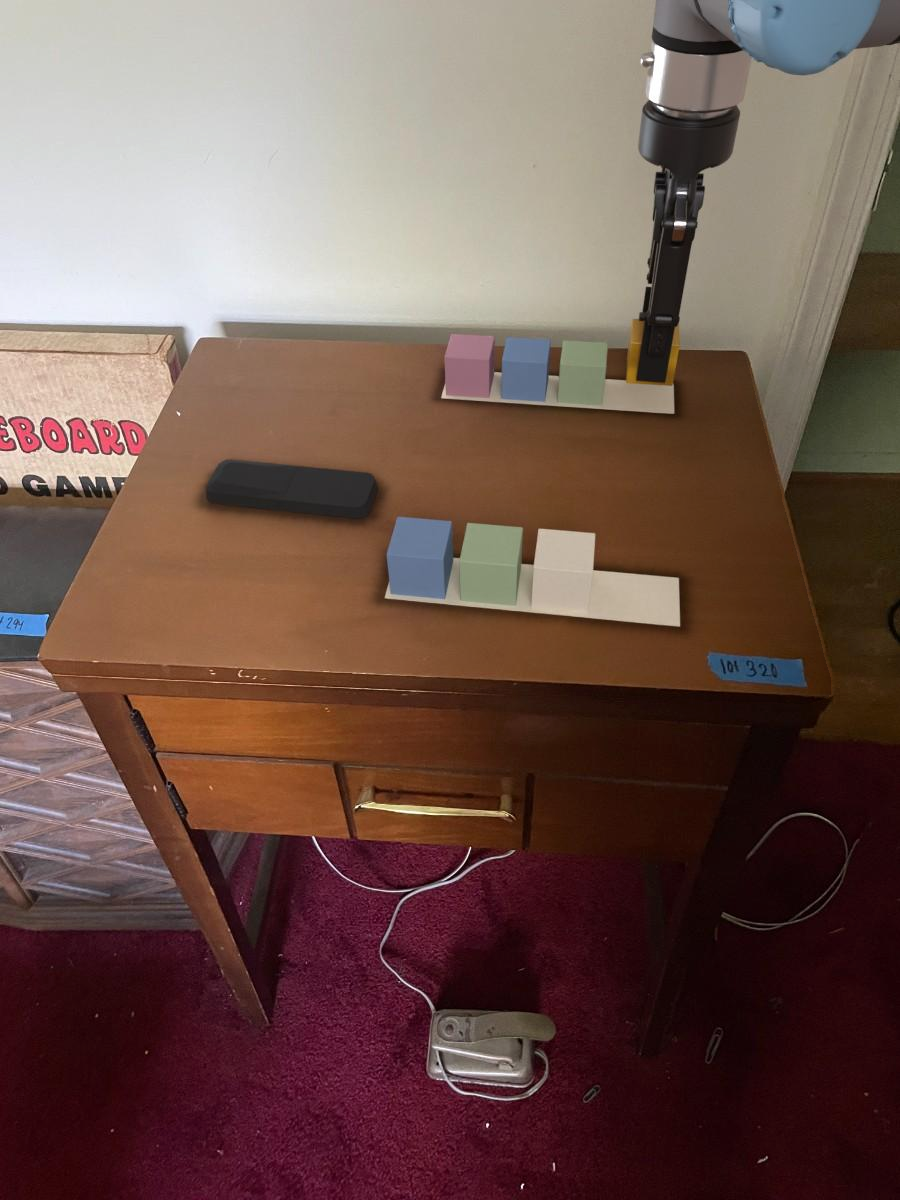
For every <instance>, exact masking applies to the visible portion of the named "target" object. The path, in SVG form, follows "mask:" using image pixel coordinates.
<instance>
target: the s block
mask: <svg viewBox="0 0 900 1200" xmlns="http://www.w3.org/2000/svg"><path fill="white" fill-rule="evenodd" d="M643 328H644V321H639V318H632V319H631V326H630V332H629V342H628V349H627V354H626V355H627V356H626V373H625V380H626V383H635V384H650V385H666V386H672V385H673V383H674V380H675V374H676V368H677V364H678V358H679V351H680V347H681V345H680V344H681V341H680V322H679V323H678V326H677V327H675V330H674V335H673V341H672V347H671V353H670V358H669V364H668V370H667V376H666V381H665V383H661V382H646V381H636V376H637V369H638V362H639V356H640V349H641V342H642V335H643Z"/></svg>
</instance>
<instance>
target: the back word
mask: <svg viewBox="0 0 900 1200" xmlns="http://www.w3.org/2000/svg"><path fill="white" fill-rule="evenodd" d="M495 340H496V336H495V335H484V334H483V335H481V334H480V335H479V334H462V333H451V334H450V337H449V340H448V343H447V348H446V350H445V355H444V387H443V390H442V393H441V397H440V398H441V399H446V400H461V401H474V402H476V401H478V402H488V403H489V402H490V403H506V404H520V405H521V404H522V405H534V406H535V405H537V406H548V407H549V406H550V407H551V406H552V407H567V408H579V409H580V408H581V409H595V410H596V409H597V410H608V411H609V410H610V411H624V412H625V411H627V412H638V413H639V412H640V413H641V412H642V413H655V414H670V415H671V414H672V415H673V414H674V415H675V384H674V382H673V385H672V386H666V385H650V384H635V383H626V379H609V378H606V375H607V374H606V373H607V366H608V365H607V364H608V348H609V343H608V342H602V341H601V342H600V341H582V340H567V339H565V340H563V341H562V347H561V353H560V360H559V361H560V362H559V374H558V375H550V362H551V361H550V360H551V347H552V345H551V344H552V340H551V339H550V338H549V339H548V338H533V337H532V338H531V337H515V336H507V337H506V340H505V344H504V348H503V353H502V358H501V372H499V371H498V372H497V371H495V356H496V355H495V353H496V352H495V350H496V349H495V348H496V346H495V342H496V341H495Z"/></svg>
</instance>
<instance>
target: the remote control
mask: <svg viewBox="0 0 900 1200" xmlns="http://www.w3.org/2000/svg"><path fill="white" fill-rule="evenodd" d="M378 488H379V487H378V484H377V481H376V477H375V476H374V475H373V474H372V473H369V472H367V471H365V472H364V471H356V470H355V471H354V470H344V469H334V468H323V467H315V466H302V465H293V464H283V463H274V462H263V461H262V462H261V461H251V460H243V459H232V458H231V459H230V458H229V459H224V460H222V461H220V462H219V463H218V464H217V466H216V468H215V469H214V471H213V473H212V475H211V476H210V478H209V480H208V482H207V483H206V486H205V494H206V495H205V496H206V500H207V502H208V503H211V504H215V505H223V506H235V507H243V508H252V509H253V508H254V509H261V510H262V509H263V510H271V511H279V512H280V511H282V512H290V513H291V512H292V513H300V514H309V515H320V516H329V517H340V518H346V519H347V518H349V519H363V518H366V517H367V516H368V515H369V514H370V512H371V510H372V507H373V505H374V502H375V499H376V496H377V494H378V490H379V489H378Z"/></svg>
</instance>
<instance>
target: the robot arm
mask: <svg viewBox="0 0 900 1200" xmlns="http://www.w3.org/2000/svg"><path fill="white" fill-rule="evenodd" d="M653 14H654V15H653V23H652V30H651V31H652V32H651V43H650V48H651V52H643V53H642V55H641V56H640V59H639V65H640V66H641V67H643V68H648V71H647V75H646V84H645V92H644V94H645V96H646V98H647V99H648V100H647V101H646V103H645V104H644V105H643V106H642V108H641V109H642V110H641V117H640V127H639V133H638V134H639V135H638V142H637V144H638V145H637V150H638V152H639V155H640V156H641V157H642V158H643V160H645V161H647V163H649V164H652V165H654V166H656V167H661V170H660V171H655V173H654V181H653V194H654V196H653V207H652V222H653V226H652V235H651V236H652V238H651V244H650V251H649V256H648V258H647V266H648V272H647V274H646V281H647V285H651V286H645V291H644V297H643V305H642V310H641V311H639V313H638V319H639V321H644V328H643V335H642V342H641V349H640V356H639V362H638V369H637V376H636V381H646V382H661V383H665V381H666V376H667V370H668V364H669V358H670V353H671V347H672V341H673V335H674V330H675V327H677V326H678V323H679V324H680V319H681V317H680V312H681V308H682V302H683V295H684V290H685V284H686V278H687V273H688V267H689V261H690V256H691V250H692V245H693V242H694V240H695V237H696V231H697V229H698V225H699V222H698V217H699V212H700V210H701V209H702V207H703V205H704V200H705V191H706V186H705V185H703V184H704V176H705V173H701V172H703V171H705V170H707V169H714V168H717V167H719V166H721V165H723V164H725V163H726V162H727V161H728V160H729V159H730V158H731V157H732V154H733V153H734V147H735V142H736V137H737V132H738V127H739V121H740V117H741V110H740V108H739V107H738V105H739V104H740V103H741V102H743V100H744V98H745V94H746V90H747V84H748V79H749V75H750V69H751V64H752V60H754V61H755V62H756V63H762V64H764V65H765V66H766V67H768V68H771V69H775V70H779V71H781V72H783V73H785V74H788V75H794V76H810V75H815V74H819V73H821V72H824V71H825V70H827V69H828V68H830V67H832V66H833V65H835V64H837V62H839V61H840V60H842V59H844V58H846V57H848V56H849V55H850V54H851V53H852V52H853V51H854V50H858V49H870V48H878V47H884V46H893V45H897V44H900V0H655V5H654V13H653ZM752 58H753V59H752Z"/></svg>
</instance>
